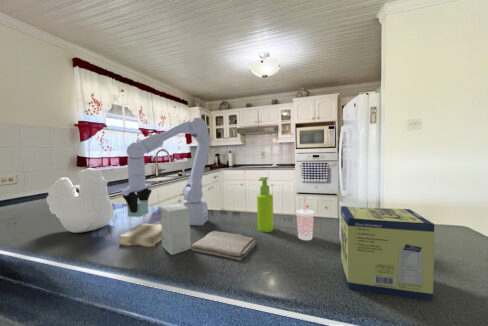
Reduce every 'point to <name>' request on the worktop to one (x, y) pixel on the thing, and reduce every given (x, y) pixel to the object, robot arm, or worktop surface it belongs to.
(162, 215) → the small box
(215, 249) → the washcloth
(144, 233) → the birch plinth
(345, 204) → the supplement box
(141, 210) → the teal block
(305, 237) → the beverage cup
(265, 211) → the soap dispenser
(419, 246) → the protein box
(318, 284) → the worktop surface
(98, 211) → the decorative rooster
